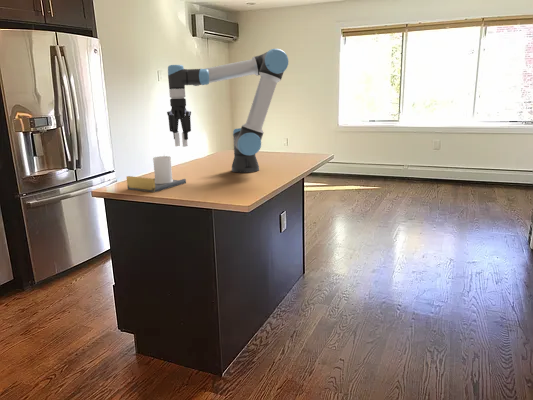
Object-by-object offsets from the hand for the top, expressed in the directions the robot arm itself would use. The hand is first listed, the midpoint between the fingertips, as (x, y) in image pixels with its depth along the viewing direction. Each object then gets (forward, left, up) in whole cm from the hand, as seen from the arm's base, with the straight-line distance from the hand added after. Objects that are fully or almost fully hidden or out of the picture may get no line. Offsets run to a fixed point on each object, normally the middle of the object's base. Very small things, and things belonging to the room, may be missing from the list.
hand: (181, 146), depth 215 cm
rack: (0, +19, -17) cm, 25 cm away
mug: (0, +13, -16) cm, 21 cm away
